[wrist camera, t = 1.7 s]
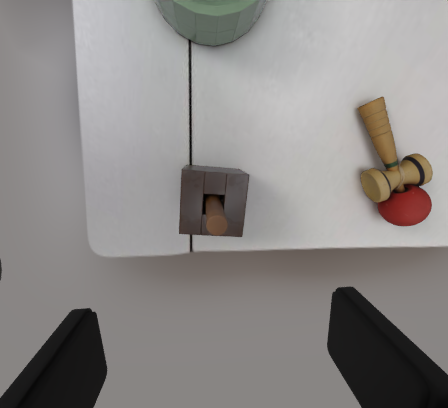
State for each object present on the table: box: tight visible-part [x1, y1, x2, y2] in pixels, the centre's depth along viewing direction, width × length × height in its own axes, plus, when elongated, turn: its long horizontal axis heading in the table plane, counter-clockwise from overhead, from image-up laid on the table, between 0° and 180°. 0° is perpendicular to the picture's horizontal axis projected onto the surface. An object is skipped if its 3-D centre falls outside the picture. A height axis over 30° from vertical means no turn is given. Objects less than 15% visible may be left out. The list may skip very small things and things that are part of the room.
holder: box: [179, 165, 249, 237], centre depth 29 cm, size 7×7×7 cm
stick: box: [205, 194, 228, 235], centre depth 26 cm, size 2×2×14 cm
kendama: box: [358, 97, 433, 226], centre depth 31 cm, size 8×6×18 cm
